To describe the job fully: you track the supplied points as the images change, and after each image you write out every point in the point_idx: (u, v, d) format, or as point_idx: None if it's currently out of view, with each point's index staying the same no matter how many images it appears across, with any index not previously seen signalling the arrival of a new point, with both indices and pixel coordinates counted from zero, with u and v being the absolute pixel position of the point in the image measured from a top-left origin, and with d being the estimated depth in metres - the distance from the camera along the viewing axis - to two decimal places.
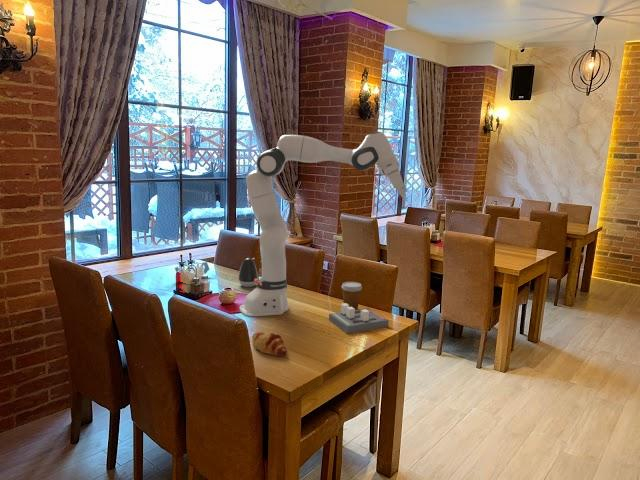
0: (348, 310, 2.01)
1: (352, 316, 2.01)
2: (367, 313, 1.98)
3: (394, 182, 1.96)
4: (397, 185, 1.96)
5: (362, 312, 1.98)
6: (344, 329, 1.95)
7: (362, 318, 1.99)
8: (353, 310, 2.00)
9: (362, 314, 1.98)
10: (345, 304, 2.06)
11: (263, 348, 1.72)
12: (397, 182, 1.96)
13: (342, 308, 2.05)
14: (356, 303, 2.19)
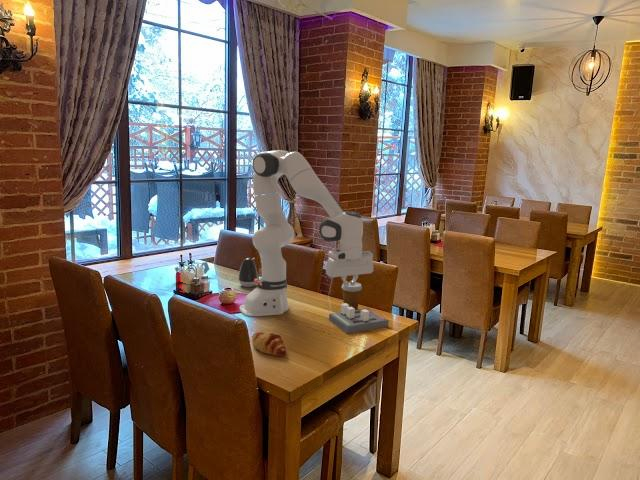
0: (348, 310, 2.01)
1: (352, 316, 2.01)
2: (367, 313, 1.98)
3: (326, 267, 1.88)
4: (327, 272, 1.88)
5: (362, 312, 1.98)
6: (344, 329, 1.95)
7: (362, 318, 1.99)
8: (353, 310, 2.00)
9: (362, 314, 1.98)
10: (345, 304, 2.06)
11: (263, 348, 1.72)
12: (327, 269, 1.87)
13: (342, 308, 2.05)
14: (356, 303, 2.19)
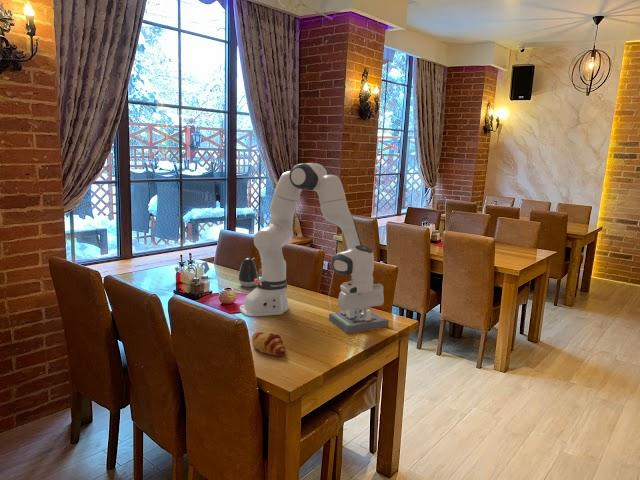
0: (348, 310, 2.01)
1: (352, 316, 2.01)
2: (369, 313, 1.98)
3: (338, 301, 1.93)
4: (339, 305, 1.93)
5: None
6: (344, 329, 1.95)
7: (364, 318, 1.99)
8: (353, 310, 2.00)
9: None
10: None
11: (262, 348, 1.72)
12: (339, 303, 1.93)
13: None
14: None
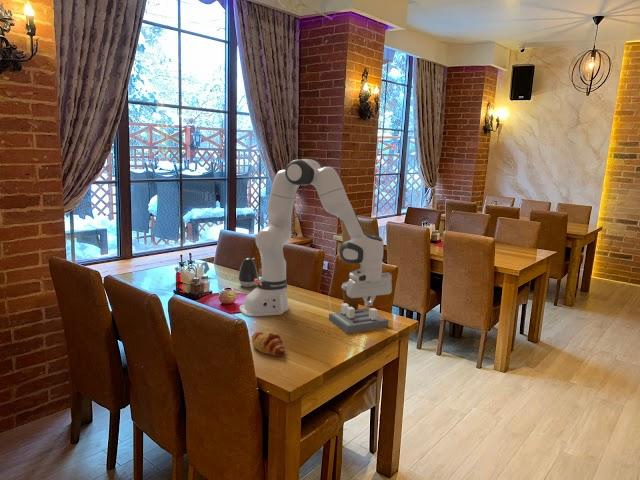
0: (348, 310, 2.01)
1: (352, 316, 2.01)
2: (375, 312, 2.00)
3: (347, 288, 1.95)
4: (347, 293, 1.94)
5: (370, 311, 2.00)
6: (344, 329, 1.95)
7: (370, 317, 2.00)
8: (353, 310, 2.00)
9: (370, 313, 2.00)
10: (345, 304, 2.06)
11: (262, 348, 1.72)
12: (348, 290, 1.94)
13: (342, 308, 2.05)
14: (356, 303, 2.19)
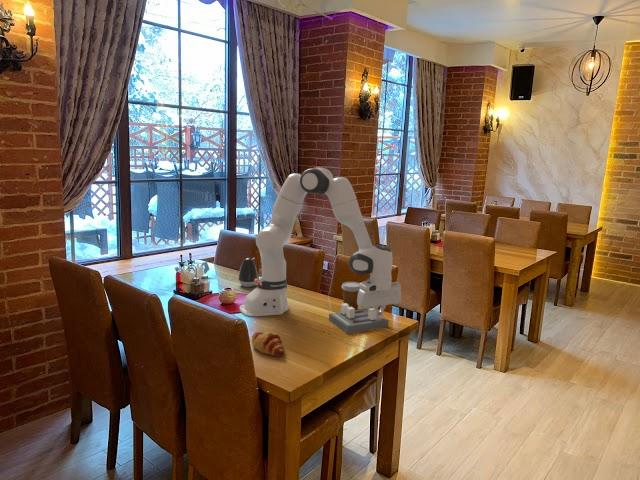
0: (348, 310, 2.01)
1: (352, 316, 2.01)
2: (375, 312, 1.99)
3: (358, 298, 1.98)
4: (358, 303, 1.97)
5: (370, 311, 2.00)
6: (344, 329, 1.95)
7: (370, 317, 2.00)
8: (353, 310, 2.00)
9: (370, 313, 2.00)
10: (345, 304, 2.06)
11: (261, 348, 1.72)
12: (359, 300, 1.97)
13: (342, 308, 2.05)
14: (356, 303, 2.19)
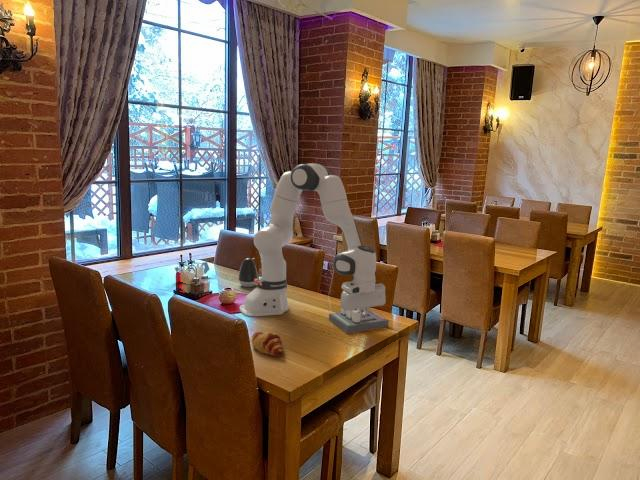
0: (348, 310, 2.01)
1: None
2: (358, 314, 1.96)
3: (341, 301, 1.94)
4: (341, 305, 1.94)
5: (353, 313, 1.97)
6: (344, 329, 1.95)
7: (353, 319, 1.97)
8: (353, 310, 2.00)
9: (353, 315, 1.97)
10: None
11: (261, 348, 1.72)
12: (342, 303, 1.93)
13: None
14: None
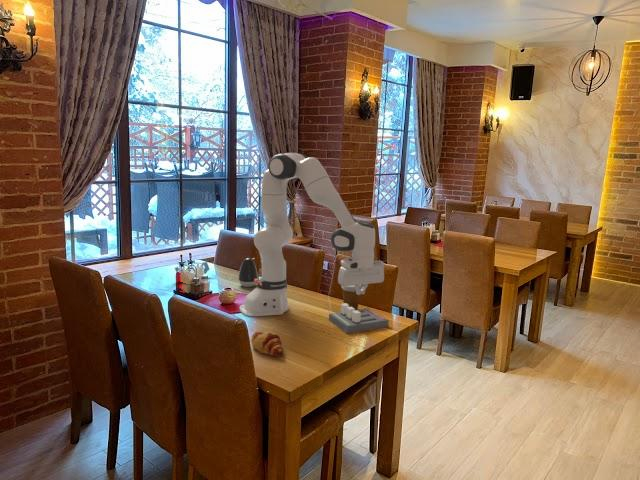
0: (348, 310, 2.01)
1: None
2: (359, 314, 1.96)
3: (338, 276, 1.92)
4: (339, 281, 1.91)
5: (353, 313, 1.97)
6: (344, 329, 1.95)
7: (354, 319, 1.97)
8: (353, 310, 2.00)
9: (353, 315, 1.97)
10: (345, 304, 2.06)
11: (260, 348, 1.72)
12: (339, 278, 1.91)
13: (342, 308, 2.05)
14: (356, 303, 2.19)
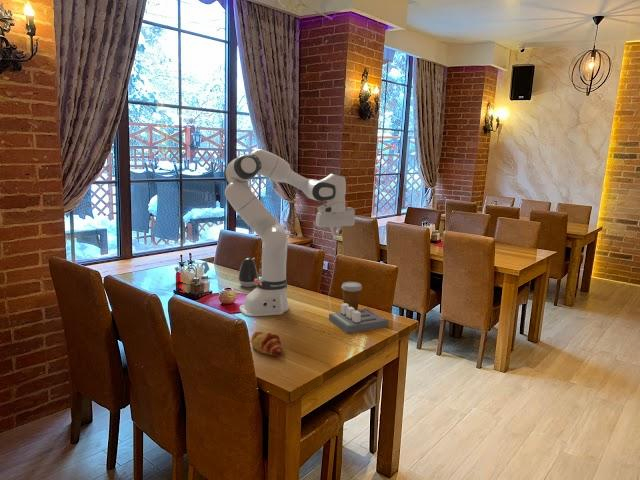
0: (348, 310, 2.01)
1: None
2: (359, 314, 1.96)
3: (316, 220, 2.29)
4: (316, 223, 2.29)
5: (353, 313, 1.97)
6: (344, 329, 1.95)
7: (354, 319, 1.97)
8: (353, 310, 2.00)
9: (353, 315, 1.97)
10: (345, 304, 2.06)
11: (259, 348, 1.72)
12: (317, 221, 2.28)
13: (342, 308, 2.05)
14: (356, 303, 2.19)
